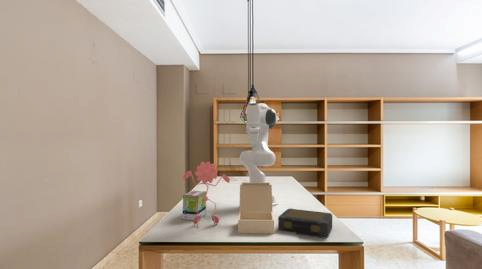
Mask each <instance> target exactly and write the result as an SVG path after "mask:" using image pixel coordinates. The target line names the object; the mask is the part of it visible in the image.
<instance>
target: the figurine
mask: <svg viewBox="0 0 482 269" xmlns="http://www.w3.org/2000/svg"><path fill="white" fill-rule="evenodd" d="M215 167H216V164H215V163H211V162H210V161H206V162H204V161H201V162H200V164H199V165H197V166H196V171H194V175H195V176H196V178H197V181H201V182H200V183H196V182H195V180H194V176H193V174H192V170H187V172H185V173H184V174H183V176H182V178H183V181H185V180H186V179H189V178H190V177H191V179H192V182H193V184H194V186H195V185H206V187H207V188H206V196H205V197H204V198H203V200H204V201H206V202H207V201H210V202H211V203H213V204H214V211H216V208H217V204H216V202H214V201H213V200H211V199H209V197H208V196H207V194H208V191H209V186H212V187H217V185H218V184H219V182H220V181H221V180H222V179H223V180H224V181H225V182H227V183H228V184H229V183H230V181H231V179H230V178H229V176H228V175H226V174H225V173H223V174H222V175H221V177H220V178H219V180H218V181H217V182H216V184H211V183H213V180H214V179H215V180H216V179H217V178H218V175H217V173H218V172H219V171H218V169H217V168H215ZM203 200H201V201H203ZM201 201H200V202H201ZM200 202H199V203H200ZM197 204H198V203H197ZM197 204H196V211H197ZM201 221H202V219H201V218H200V216H198V213H197V216H196V217H195V218H194V220H192V221H191V222H189V223H190V224H191V223H193V224H194V225H196V228H199V222H201ZM211 221H213V228H216V224H217V225H218V224H219V222H220V218H219V216H217V215H216V213H214V214H213V215H212V216H211Z"/></svg>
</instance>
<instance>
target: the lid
mask: <svg viewBox="0 0 482 269" xmlns="http://www.w3.org/2000/svg"><path fill="white" fill-rule="evenodd" d="M272 188H273V187H272V184H270V182H265V183H250V182H241V184H239V206H238V207H239V210H238V211H239V213H240V212H272V213H273V206H272V195H273V190H272Z"/></svg>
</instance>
